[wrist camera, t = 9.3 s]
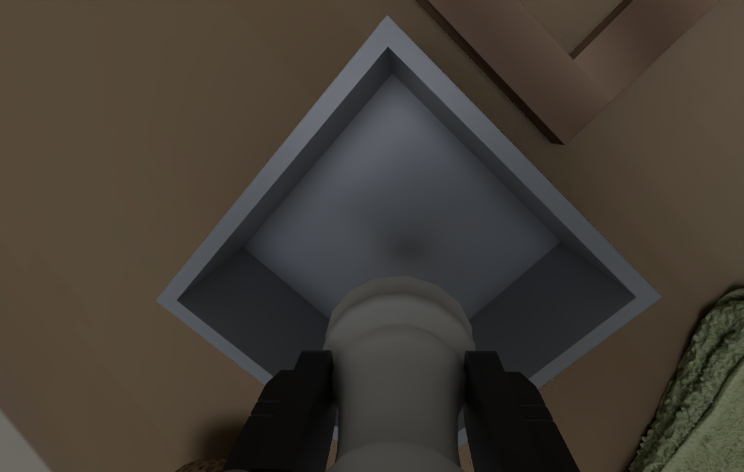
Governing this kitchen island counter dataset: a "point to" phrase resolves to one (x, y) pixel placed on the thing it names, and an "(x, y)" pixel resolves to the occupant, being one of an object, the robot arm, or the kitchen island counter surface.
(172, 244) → the kitchen island counter surface
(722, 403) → the washcloth
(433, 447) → the rook chess piece
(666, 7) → the socket block
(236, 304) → the bin
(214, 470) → the natural sponge
